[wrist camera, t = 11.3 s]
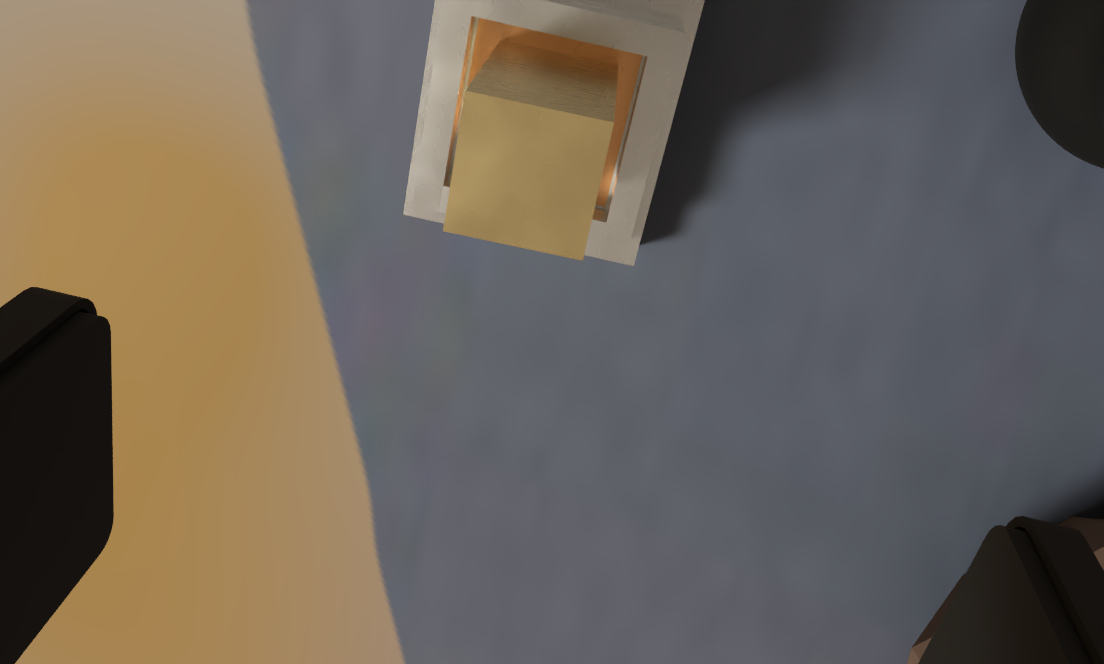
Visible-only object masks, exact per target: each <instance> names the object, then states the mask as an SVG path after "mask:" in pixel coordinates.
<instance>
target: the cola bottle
mask: <svg viewBox="0 0 1104 664" xmlns="http://www.w3.org/2000/svg"><path fill="white" fill-rule="evenodd" d="M1015 61H1016V70H1017V76H1018V81H1019V84H1020V88H1021V91H1022V94H1023V96H1024V99H1025V101H1026V103H1027V105H1028V107H1029V109H1030V111H1031V113H1032V114H1033V116H1034V117H1035V119H1036V120H1037V122H1038V123H1039V125H1040V126H1041V127H1042V128H1043V130H1044V131H1045V132H1046V133H1047V134H1048V135H1049V136H1050V137H1051V138H1052V139H1053V140H1054V141H1055V142H1056V143H1057V144H1059V145H1060V146H1061V147H1062V148H1064V149H1065V150H1066V151H1068V152H1069V153H1071V154H1073V155H1074V156H1076V157H1078V158H1080V159H1081V160H1083V161H1086V162H1088V163H1090V164H1092V165H1095V166H1098V167H1101V168H1104V0H1027V2H1026V4H1025V7H1024V9H1023V12H1022V15H1021V18H1020V22H1019V26H1018V30H1017V36H1016V45H1015Z"/></svg>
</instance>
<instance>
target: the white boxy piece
mask: <svg viewBox="0 0 1104 664" xmlns="http://www.w3.org/2000/svg"><path fill="white" fill-rule="evenodd" d="M704 1H705V0H435V5H434V11H433V18H432V25H431V31H430V38H429V45H428V52H427V58H426V65H425V72H424V79H423V85H422V92H421V99H420V105H419V112H418V119H417V126H416V132H415V139H414V146H413V153H412V159H411V166H410V173H409V179H408V186H407V193H406V200H405V206H404V213H403V214H404V215H408V216H413V217H417V218H422V219H426V220H431V221H435V222H440V223H444V222H445V216H446V209H447V203H448V196H449V190H450V184H451V177H452V171H453V164H454V158H455V151H456V145H457V139H458V132H459V126H460V119H461V113H462V107H463V100H464V94H465V90H466V88H467V87H468V86H469V84H470V83H471V81H472V80H473V78H474V77H475V76H476V74H477V73H478V71H479V70H480V69H481V67H482V66H483V64H484V63H485V61H486V60H487V59H488V57H489V56H490V54H491V53H492V51H493V50H494V49H495V47H496V46H497V44H498V43H499V42H500V40H503V41H507V42H512V43H517V44H521V45H526V46H531V47H535V48H540V49H545V50H549V51H554V52H558V53H563V54H568V55H572V56H577V57H582V58H586V59H591V60H595V61H600V62H605V63H609V64H614V65H619V66H618V79H617V92H616V105H615V118H614V125H613V130H612V134H611V139H610V143H609V147H608V152H607V156H606V161H605V165H604V169H603V174H602V178H601V183H600V187H599V191H598V196H597V200H596V204H595V209H594V213H593V218H592V222H591V226H590V231H589V235H588V240H587V244H586V248H585V253H584V255H587V256H591V257H596V258H600V259H605V260H609V261H614V262H618V263H622V264H627V265H631V266H634V263H635V259H636V255H637V252H638V248H639V244H640V240H641V237H642V233H643V229H644V226H645V222H646V218H647V214H648V211H649V207H650V203H651V199H652V196H653V192H654V188H655V184H656V181H657V177H658V173H659V169H660V166H661V162H662V158H663V155H664V151H665V147H666V143H667V140H668V136H669V132H670V128H671V125H672V121H673V117H674V113H675V110H676V106H677V102H678V99H679V95H680V91H681V87H682V84H683V80H684V76H685V72H686V69H687V65H688V61H689V57H690V54H691V50H692V46H693V43H694V39H695V35H696V31H697V28H698V24H699V20H700V16H701V13H702V9H703V5H704Z"/></svg>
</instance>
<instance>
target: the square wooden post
mask: <svg viewBox="0 0 1104 664" xmlns="http://www.w3.org/2000/svg"><path fill="white" fill-rule="evenodd" d="M618 66H619V65H614V64H609V63H605V62H600V61H595V60H591V59H586V58H582V57H577V56H572V55H568V54H563V53H558V52H554V51H549V50H545V49H540V48H535V47H531V46H526V45H521V44H517V43H512V42H507V41H503V40H500V42H499V43H498V44H497V46H496V47H495V49H494V50H493V51H492V53H491V54H490V56H489V57H488V59H487V60H486V61H485V63H484V64H483V66H482V67H481V69H480V70H479V71H478V73H477V74H476V76H475V77H474V78H473V80H472V81H471V83H470V84H469V86H468V87H467V88H466V90H465V94H464V100H463V107H462V113H461V119H460V126H459V132H458V139H457V145H456V151H455V158H454V164H453V171H452V177H451V184H450V190H449V196H448V203H447V209H446V216H445V222H444V229H443V231H445V232H450V233H455V234H460V235H464V236H469V237H474V238H478V239H483V240H488V241H493V242H497V243H502V244H507V245H511V246H516V247H521V248H526V249H530V250H535V251H540V252H544V253H549V254H554V255H559V256H563V257H568V258H573V259H577V260H582V261H583V257H584V253H585V248H586V244H587V240H588V235H589V231H590V226H591V222H592V218H593V213H594V209H595V204H596V200H597V196H598V191H599V187H600V183H601V178H602V174H603V169H604V165H605V161H606V156H607V152H608V147H609V143H610V139H611V134H612V130H613V125H614V118H615V105H616V92H617V79H618Z"/></svg>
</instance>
